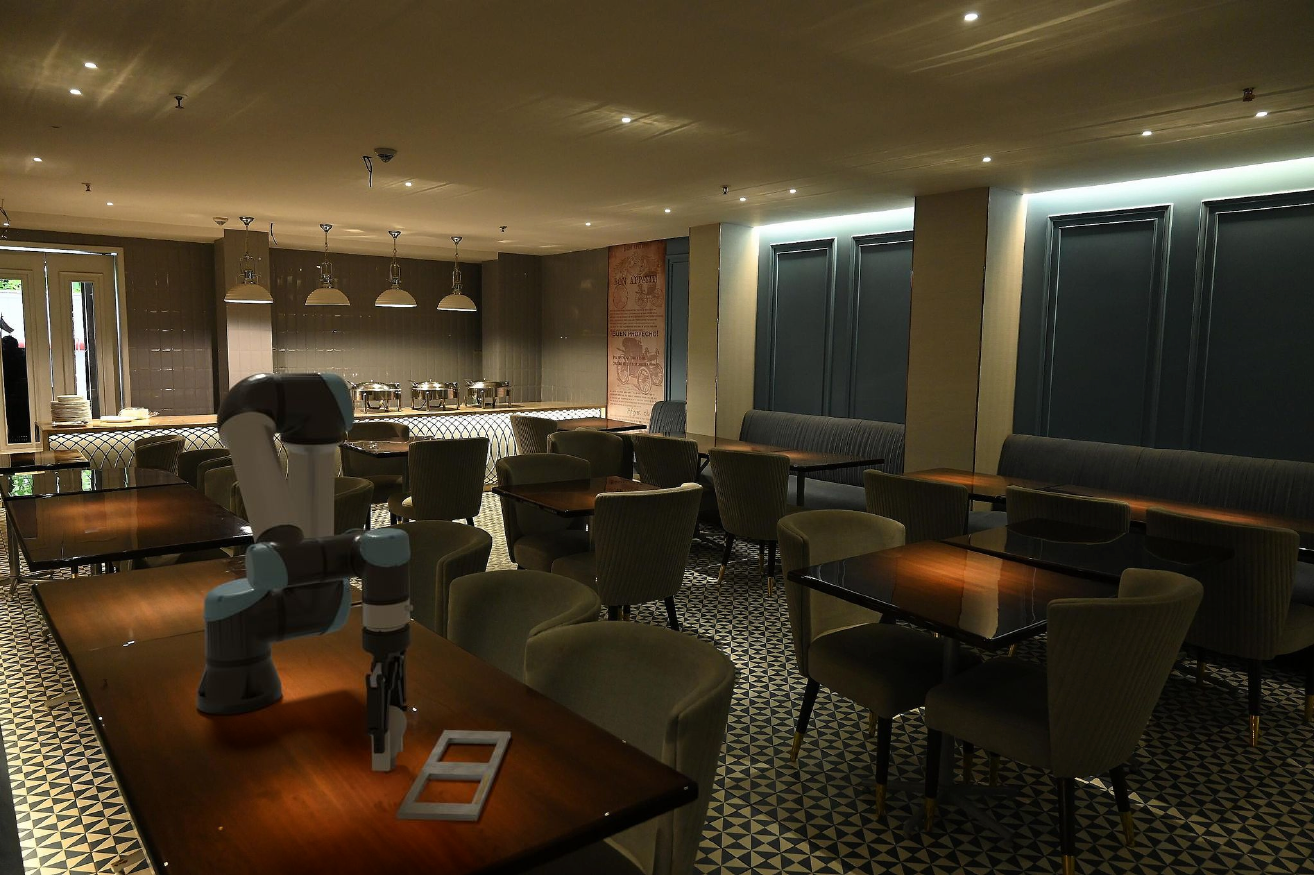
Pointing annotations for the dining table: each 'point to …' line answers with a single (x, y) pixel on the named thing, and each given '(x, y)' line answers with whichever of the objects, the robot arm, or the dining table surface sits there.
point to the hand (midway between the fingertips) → (387, 759)
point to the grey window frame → (455, 777)
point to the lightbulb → (395, 731)
